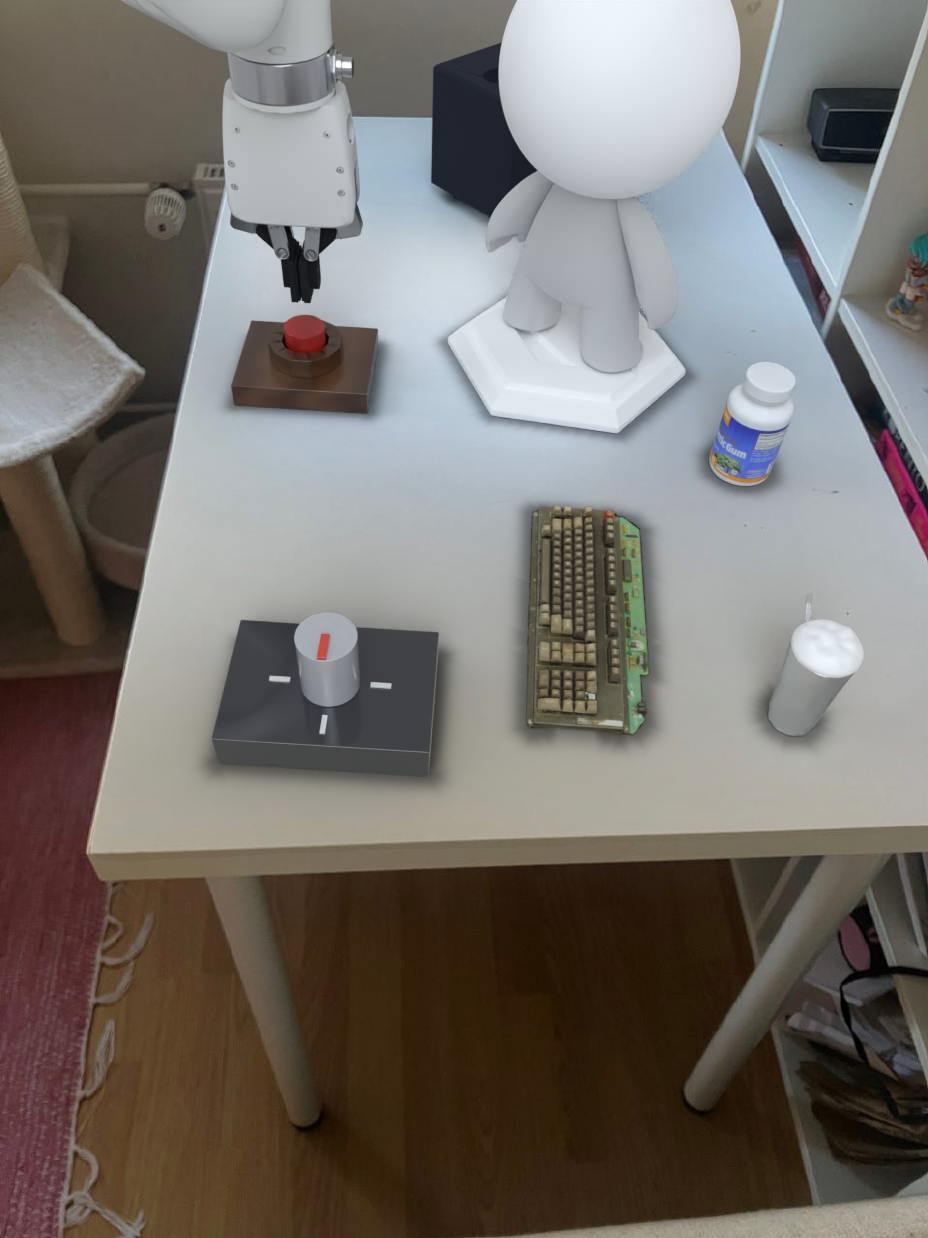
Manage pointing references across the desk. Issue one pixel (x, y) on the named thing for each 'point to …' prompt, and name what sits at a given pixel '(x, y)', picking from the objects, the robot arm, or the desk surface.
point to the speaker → (473, 132)
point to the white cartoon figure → (595, 202)
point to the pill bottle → (753, 425)
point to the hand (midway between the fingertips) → (303, 293)
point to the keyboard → (586, 621)
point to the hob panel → (329, 736)
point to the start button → (304, 334)
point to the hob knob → (328, 658)
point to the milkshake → (813, 673)
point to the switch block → (306, 370)
